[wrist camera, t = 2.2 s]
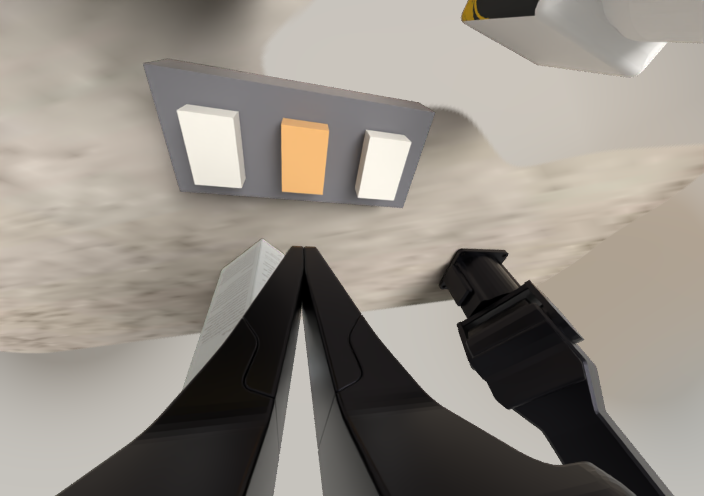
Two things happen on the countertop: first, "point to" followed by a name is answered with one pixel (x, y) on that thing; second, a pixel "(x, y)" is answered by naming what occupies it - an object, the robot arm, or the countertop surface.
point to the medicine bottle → (588, 30)
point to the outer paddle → (213, 145)
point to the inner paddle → (381, 165)
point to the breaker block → (265, 127)
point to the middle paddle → (303, 156)
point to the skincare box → (233, 299)
